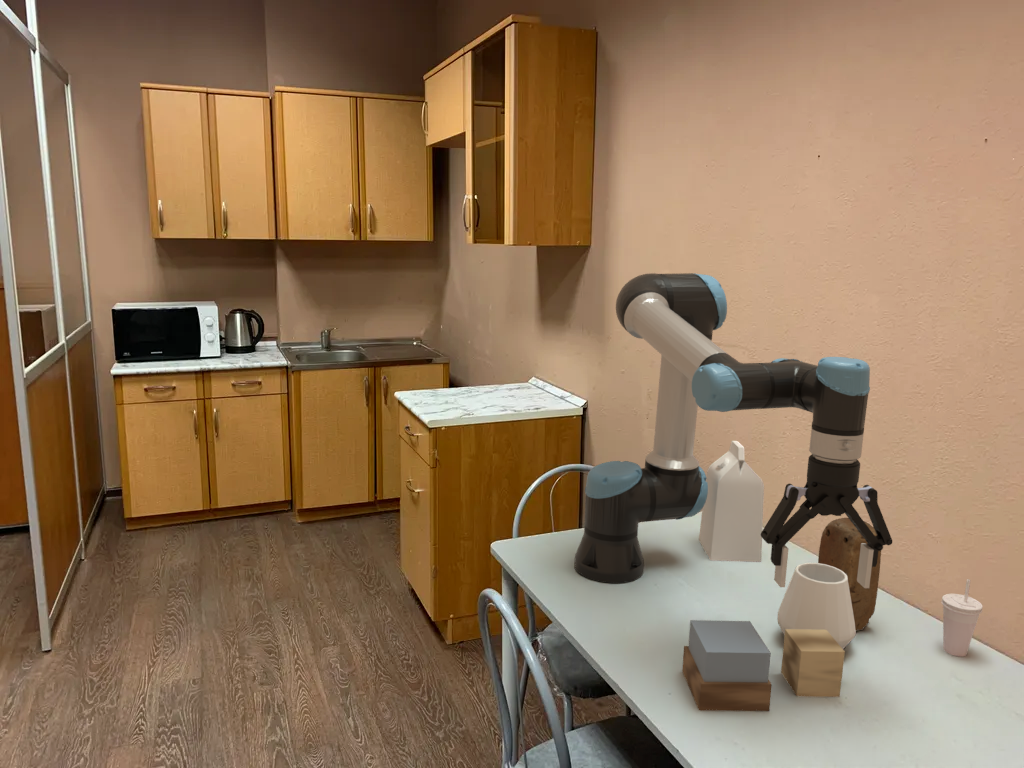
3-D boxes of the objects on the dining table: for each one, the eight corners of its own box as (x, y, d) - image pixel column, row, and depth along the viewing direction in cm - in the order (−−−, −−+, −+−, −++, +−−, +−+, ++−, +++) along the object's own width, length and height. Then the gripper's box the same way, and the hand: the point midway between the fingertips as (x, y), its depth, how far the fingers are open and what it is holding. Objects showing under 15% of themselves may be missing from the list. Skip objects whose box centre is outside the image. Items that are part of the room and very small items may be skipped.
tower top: (688, 647, 130) (690, 620, 129) (747, 648, 130) (749, 621, 129) (704, 681, 120) (706, 652, 119) (767, 682, 120) (770, 653, 119)
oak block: (780, 672, 132) (785, 629, 130) (821, 672, 132) (826, 629, 130) (796, 696, 125) (801, 651, 123) (839, 697, 125) (844, 651, 123)
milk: (761, 562, 176) (771, 452, 171) (710, 560, 177) (719, 450, 172) (746, 541, 188) (755, 437, 183) (698, 540, 188) (706, 436, 183)
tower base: (682, 673, 131) (684, 646, 130) (746, 673, 132) (748, 646, 131) (698, 712, 120) (701, 683, 120) (768, 713, 121) (771, 684, 120)
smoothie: (960, 663, 136) (972, 589, 133) (927, 646, 141) (937, 574, 139) (983, 655, 139) (994, 582, 136) (949, 638, 144) (959, 568, 141)
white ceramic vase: (846, 672, 132) (855, 596, 130) (766, 648, 139) (773, 576, 136) (859, 638, 143) (867, 568, 141) (784, 618, 150) (791, 551, 148)
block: (876, 631, 146) (889, 531, 142) (842, 636, 144) (854, 534, 140) (838, 605, 156) (849, 511, 153) (806, 608, 154) (816, 513, 151)
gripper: (763, 462, 117) (752, 593, 121) (926, 465, 117) (909, 595, 121) (747, 449, 124) (737, 573, 128) (900, 451, 125) (885, 575, 129)
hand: (821, 584), depth 125 cm, fingers open, 13 cm apart
